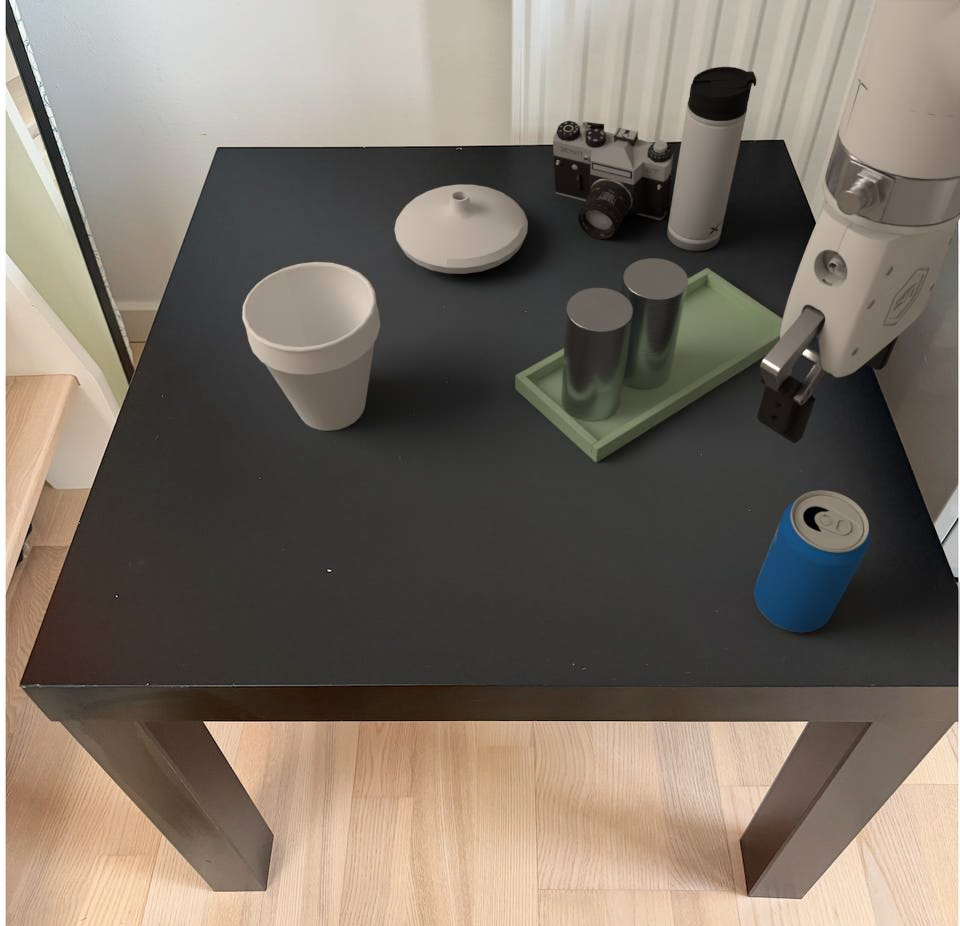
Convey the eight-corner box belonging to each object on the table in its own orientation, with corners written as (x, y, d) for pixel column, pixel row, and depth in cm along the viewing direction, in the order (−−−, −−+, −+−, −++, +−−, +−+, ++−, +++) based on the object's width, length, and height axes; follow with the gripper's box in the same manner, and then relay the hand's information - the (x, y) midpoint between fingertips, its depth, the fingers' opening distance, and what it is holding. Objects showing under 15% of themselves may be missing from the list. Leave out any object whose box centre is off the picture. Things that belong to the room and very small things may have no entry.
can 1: (632, 403, 91) (646, 312, 82) (587, 430, 89) (596, 340, 80) (593, 370, 94) (602, 279, 85) (548, 396, 92) (553, 305, 83)
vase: (373, 236, 111) (366, 186, 105) (480, 193, 116) (479, 142, 111) (441, 306, 102) (437, 255, 97) (554, 255, 107) (556, 204, 102)
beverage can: (765, 559, 80) (799, 474, 70) (839, 588, 78) (884, 505, 68) (742, 617, 76) (774, 535, 67) (818, 649, 74) (863, 569, 65)
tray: (789, 340, 97) (794, 326, 96) (596, 463, 87) (597, 449, 86) (704, 281, 104) (707, 267, 102) (514, 389, 94) (514, 375, 92)
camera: (533, 229, 113) (528, 167, 104) (566, 170, 117) (564, 106, 109) (645, 259, 109) (649, 197, 100) (675, 197, 113) (682, 132, 104)
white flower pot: (300, 470, 88) (272, 369, 77) (253, 392, 94) (221, 289, 84) (413, 420, 91) (400, 317, 81) (359, 348, 98) (341, 245, 88)
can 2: (682, 372, 94) (701, 281, 85) (640, 398, 92) (654, 307, 82) (642, 341, 97) (656, 250, 88) (600, 366, 95) (610, 274, 86)
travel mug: (726, 252, 107) (762, 90, 92) (669, 252, 107) (696, 91, 92) (718, 220, 111) (751, 60, 96) (664, 220, 111) (688, 61, 96)
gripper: (871, 274, 44) (791, 493, 57) (1047, 136, 51) (939, 359, 64) (744, 209, 47) (697, 428, 60) (924, 89, 54) (847, 309, 68)
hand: (821, 393), depth 62 cm, fingers open, 9 cm apart
